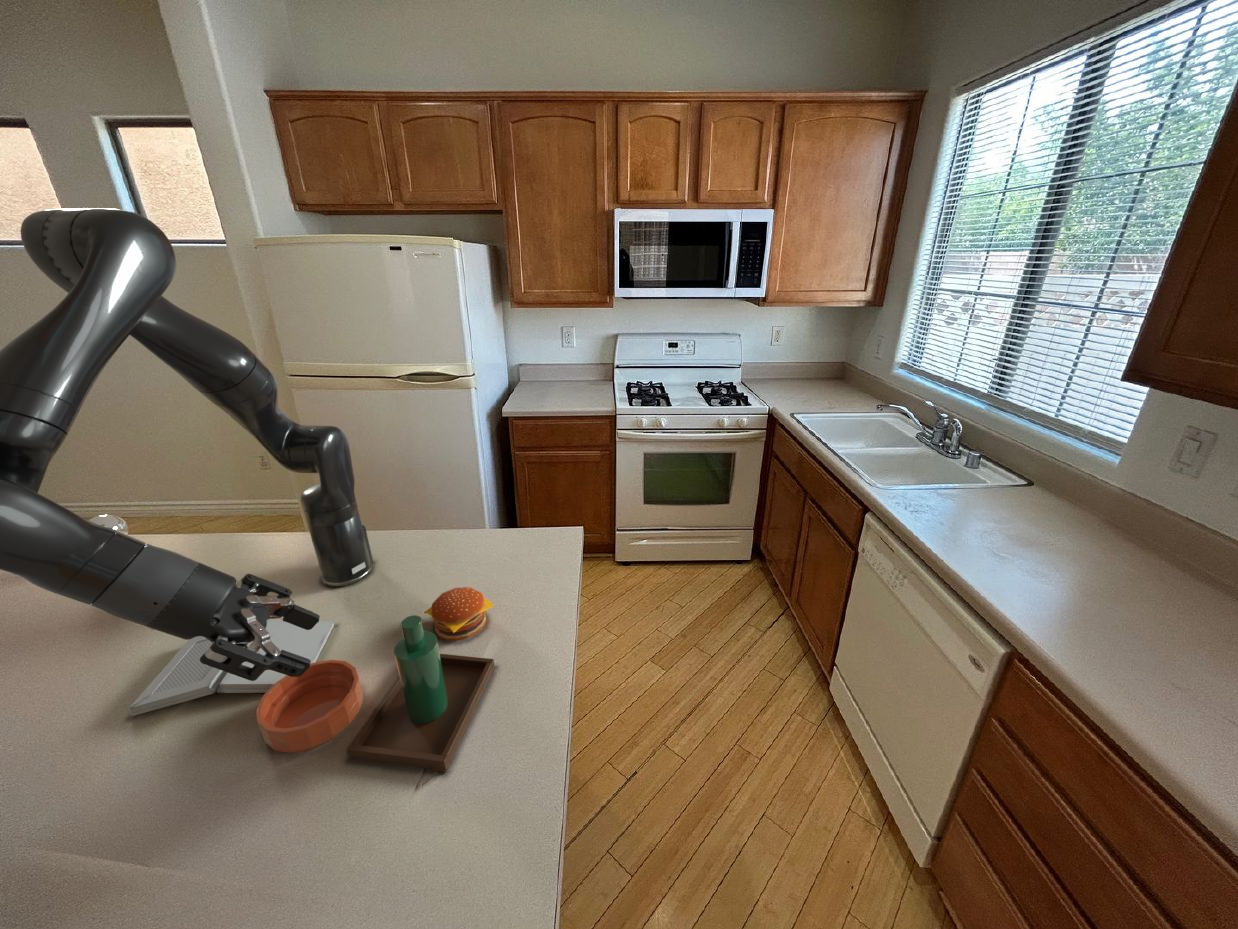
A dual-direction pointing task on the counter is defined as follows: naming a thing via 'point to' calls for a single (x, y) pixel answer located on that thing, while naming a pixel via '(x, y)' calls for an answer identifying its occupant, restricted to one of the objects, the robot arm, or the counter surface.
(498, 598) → the counter surface
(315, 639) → the gadget
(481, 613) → the hamburger
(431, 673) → the bottle
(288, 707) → the bowl
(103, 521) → the light bulb
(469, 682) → the tray
